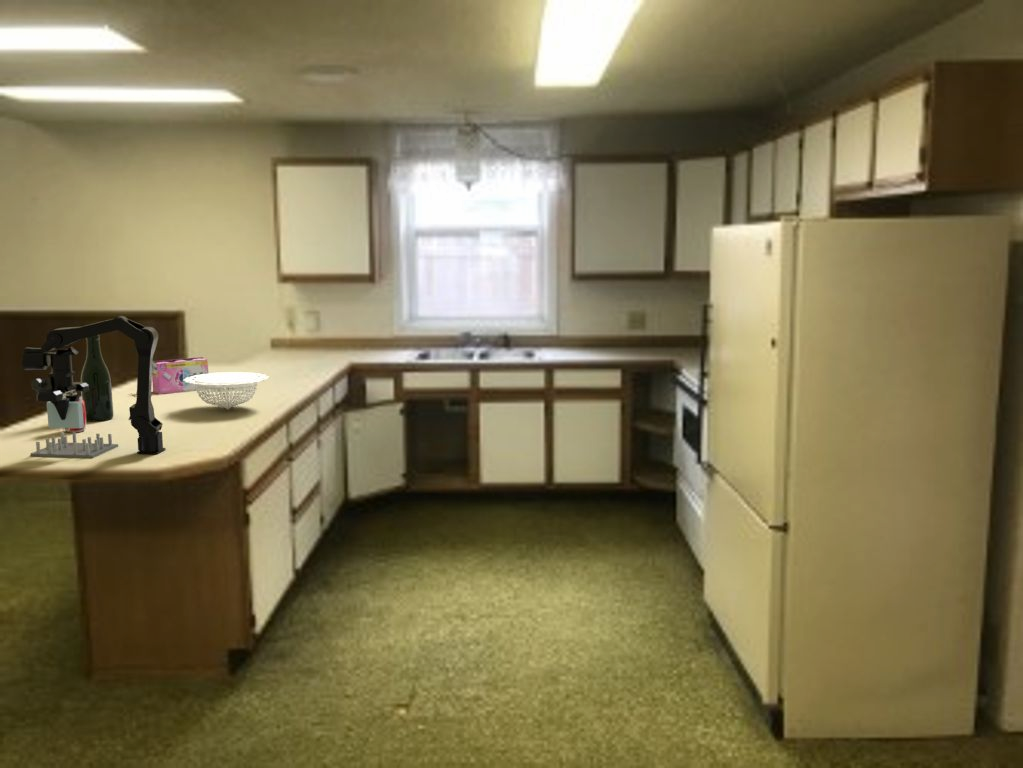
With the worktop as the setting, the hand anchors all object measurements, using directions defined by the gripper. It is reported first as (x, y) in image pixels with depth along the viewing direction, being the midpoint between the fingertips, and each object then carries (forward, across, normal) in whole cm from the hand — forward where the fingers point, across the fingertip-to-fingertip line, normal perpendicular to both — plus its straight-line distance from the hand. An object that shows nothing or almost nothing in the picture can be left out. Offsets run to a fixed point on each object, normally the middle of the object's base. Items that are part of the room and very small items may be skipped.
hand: (65, 418), depth 269 cm
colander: (+12, -75, +21) cm, 78 cm away
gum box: (+12, -114, -16) cm, 115 cm away
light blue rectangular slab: (+3, 0, 0) cm, 3 cm away
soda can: (+12, -31, -16) cm, 37 cm away
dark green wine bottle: (+12, -51, -19) cm, 56 cm away
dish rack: (+11, -4, 0) cm, 12 cm away
